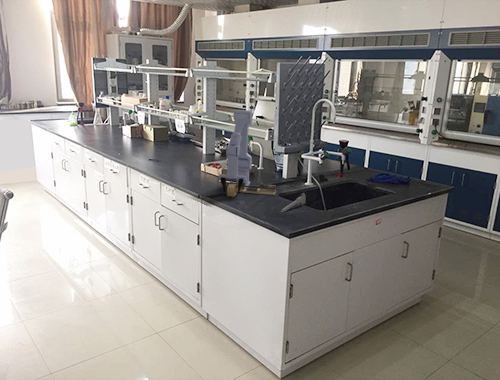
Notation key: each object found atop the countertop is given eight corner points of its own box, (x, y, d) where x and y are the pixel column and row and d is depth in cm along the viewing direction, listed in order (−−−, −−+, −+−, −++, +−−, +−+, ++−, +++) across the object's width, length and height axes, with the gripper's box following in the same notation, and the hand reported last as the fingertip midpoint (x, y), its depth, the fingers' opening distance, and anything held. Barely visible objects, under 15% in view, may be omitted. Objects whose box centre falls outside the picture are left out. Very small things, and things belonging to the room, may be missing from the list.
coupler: (226, 196, 221) (227, 187, 220) (229, 192, 228) (229, 183, 227) (234, 196, 221) (234, 187, 220) (236, 193, 228) (236, 184, 226)
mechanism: (230, 188, 237) (231, 179, 235) (276, 191, 233) (276, 182, 232) (228, 191, 230) (228, 182, 229) (274, 194, 227) (275, 186, 225)
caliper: (303, 203, 214) (304, 192, 212) (305, 204, 213) (306, 192, 211) (280, 212, 198) (280, 200, 197) (282, 213, 198) (282, 200, 196)
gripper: (217, 168, 218) (217, 192, 221) (244, 169, 216) (243, 194, 219) (220, 165, 224) (220, 189, 228) (246, 167, 222) (245, 191, 226)
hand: (231, 191), depth 224 cm, fingers open, 7 cm apart
